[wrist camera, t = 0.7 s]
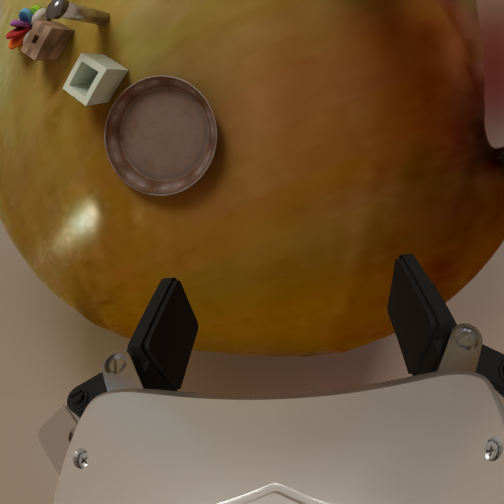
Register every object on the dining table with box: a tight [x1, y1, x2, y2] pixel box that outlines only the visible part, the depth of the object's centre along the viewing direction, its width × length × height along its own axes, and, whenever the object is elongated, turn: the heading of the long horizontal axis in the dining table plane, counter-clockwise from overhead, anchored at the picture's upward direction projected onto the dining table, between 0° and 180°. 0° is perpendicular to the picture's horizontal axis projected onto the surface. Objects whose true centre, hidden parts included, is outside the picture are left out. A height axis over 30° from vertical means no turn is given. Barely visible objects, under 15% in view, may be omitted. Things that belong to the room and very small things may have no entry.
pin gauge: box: [45, 0, 110, 26], centre depth 19 cm, size 3×3×12 cm
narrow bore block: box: [21, 20, 74, 61], centre depth 22 cm, size 6×6×6 cm
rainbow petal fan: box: [6, 5, 48, 50], centre depth 19 cm, size 8×10×7 cm
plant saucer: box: [104, 75, 217, 196], centre depth 34 cm, size 18×18×3 cm
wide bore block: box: [63, 53, 129, 106], centre depth 28 cm, size 6×6×6 cm
